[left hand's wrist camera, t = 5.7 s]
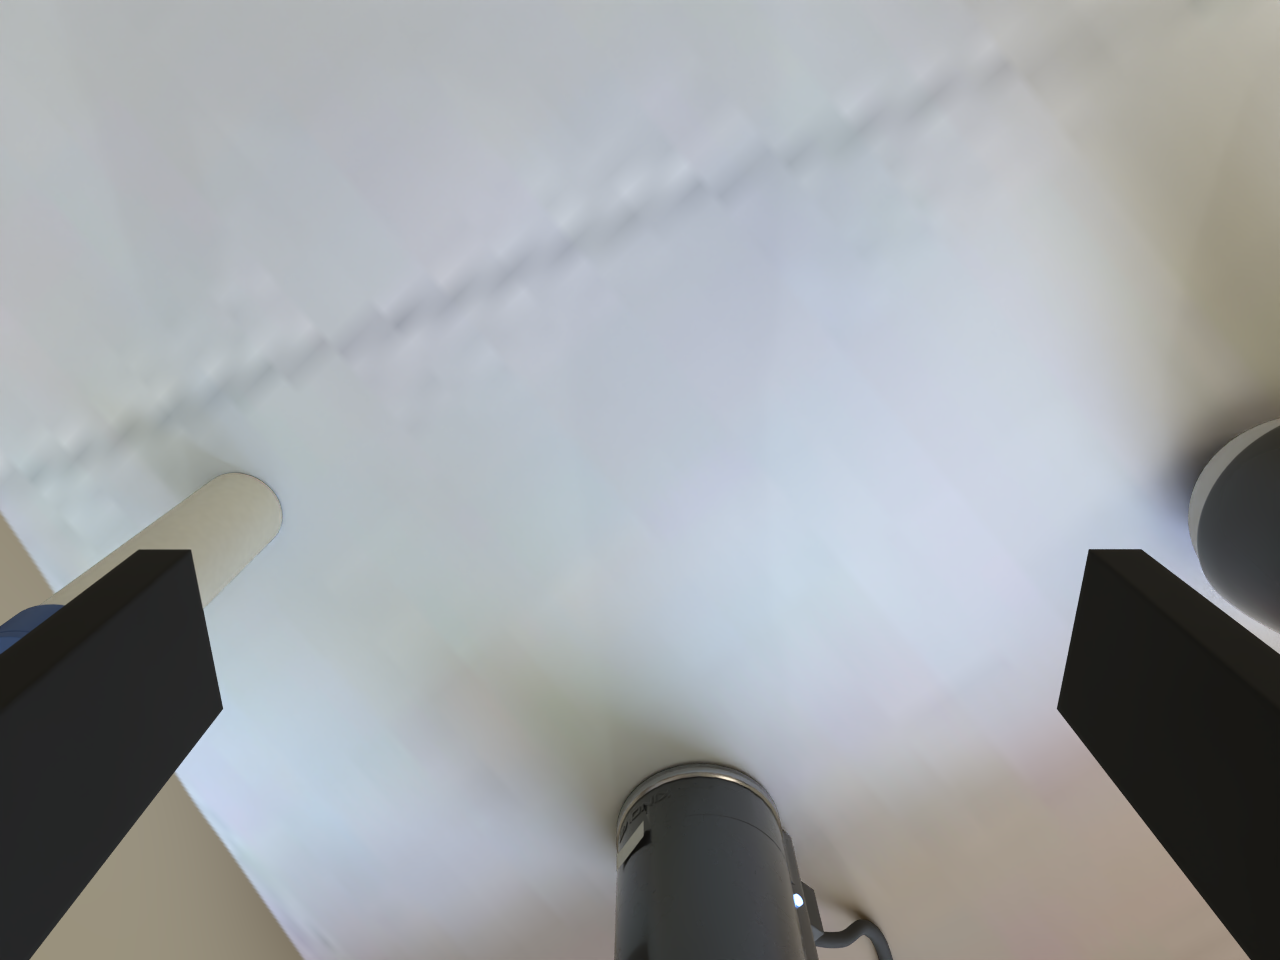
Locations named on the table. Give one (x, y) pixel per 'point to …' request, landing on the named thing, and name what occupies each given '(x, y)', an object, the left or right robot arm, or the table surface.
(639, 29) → the table surface
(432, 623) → the table surface
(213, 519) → the jar
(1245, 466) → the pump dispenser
